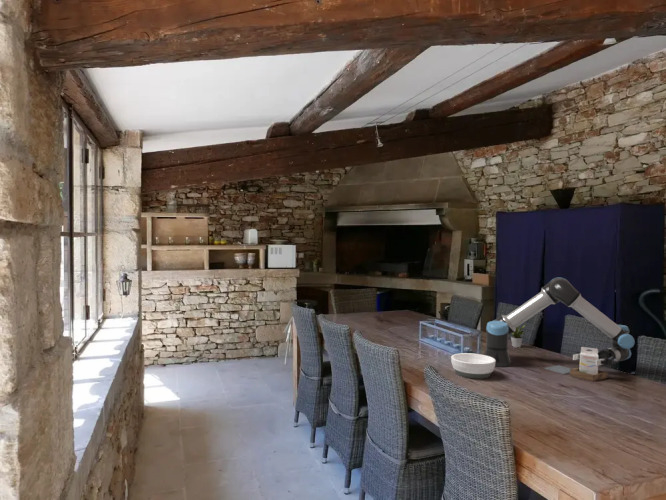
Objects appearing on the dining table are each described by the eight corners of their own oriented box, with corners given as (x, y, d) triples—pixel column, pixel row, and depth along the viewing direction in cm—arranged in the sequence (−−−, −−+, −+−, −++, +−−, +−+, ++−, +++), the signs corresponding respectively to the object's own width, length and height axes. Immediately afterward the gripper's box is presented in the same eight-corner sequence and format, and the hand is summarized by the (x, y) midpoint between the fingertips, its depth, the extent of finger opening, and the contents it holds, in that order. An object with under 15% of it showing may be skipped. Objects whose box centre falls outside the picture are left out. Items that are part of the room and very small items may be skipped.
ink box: (579, 376, 255) (579, 348, 255) (579, 374, 260) (580, 346, 259) (597, 379, 251) (598, 350, 251) (597, 376, 256) (598, 348, 255)
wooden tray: (592, 381, 247) (592, 375, 247) (570, 374, 258) (570, 369, 258) (607, 378, 253) (607, 372, 253) (584, 371, 264) (584, 366, 264)
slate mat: (564, 374, 259) (564, 373, 259) (544, 368, 269) (544, 367, 269) (578, 371, 265) (578, 370, 265) (558, 366, 275) (558, 365, 275)
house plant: (501, 347, 320) (501, 322, 320) (504, 343, 333) (505, 319, 332) (524, 350, 314) (525, 324, 313) (527, 345, 326) (527, 321, 325)
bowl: (497, 381, 244) (498, 365, 244) (451, 378, 249) (451, 362, 248) (492, 369, 266) (492, 354, 266) (450, 366, 271) (450, 351, 270)
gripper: (631, 367, 254) (607, 373, 243) (587, 357, 275) (563, 362, 264) (632, 353, 254) (607, 358, 243) (588, 344, 274) (563, 348, 264)
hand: (584, 360), depth 253 cm, fingers open, 12 cm apart
